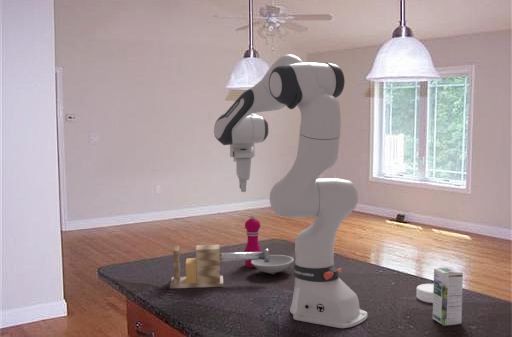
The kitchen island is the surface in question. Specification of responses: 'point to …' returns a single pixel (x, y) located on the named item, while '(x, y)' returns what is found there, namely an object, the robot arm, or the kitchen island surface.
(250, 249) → the pepper mill
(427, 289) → the white round disc
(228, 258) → the shaft
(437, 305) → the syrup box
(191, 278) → the block
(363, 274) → the kitchen island surface
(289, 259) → the dish
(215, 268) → the bracket
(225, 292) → the kitchen island surface
